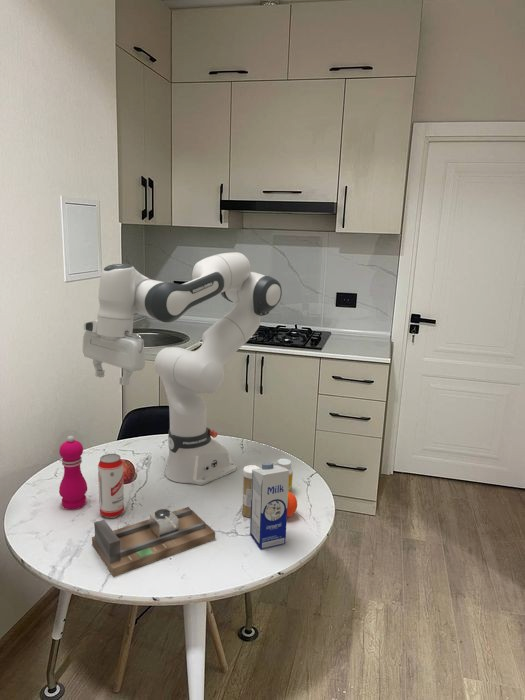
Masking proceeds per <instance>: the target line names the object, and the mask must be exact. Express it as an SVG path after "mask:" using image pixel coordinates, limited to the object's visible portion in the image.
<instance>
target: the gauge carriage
mask: <svg viewBox="0 0 525 700" xmlns="http://www.w3.org/2000/svg"><path fill="white" fill-rule="evenodd" d="M173 512H174V511H172V510H171V509H170V508H169V507H165V508H160V509H158V510H155V511H153V512H150V513H148V514H149V515H148V516H149V517H148V518H149V523H150V529H151V530H152V531H153V532H154V534H155V535H156V536H157V537H158V538H159V537H162V536H165V535H167V534H170V533H173V532H176V531H179V527H178V517H177V516H176V515H175V514H174V513H173Z"/></svg>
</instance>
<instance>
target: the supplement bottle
mask: <svg viewBox="0 0 525 700" xmlns="http://www.w3.org/2000/svg"><path fill="white" fill-rule="evenodd" d="M276 463H277V464H276V466H277V465H278V466H281V467H284V468H287V469H288V470H290V471H289V484H288V491H289V492H291V493H292V491H293V490H292V489H293V474H294V470H293V468H292V467H291V466H292V461H291V460H290V459H288V458H279V459H277V461H276Z"/></svg>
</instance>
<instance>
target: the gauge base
mask: <svg viewBox="0 0 525 700" xmlns="http://www.w3.org/2000/svg"><path fill="white" fill-rule="evenodd" d="M172 512H173V513H174V514H175V515H176V516H177V517H178V527H179V531H176V532H173V533H170V534H167V535H165V536H162V537H159V538H158V537H157V536H156V535H155V534H154V532H153V531H152V530H151V529H150V523H149V519H145V520H142V521H139V522H136V523H132V524H130V525H127V526H124V527H120V528H117V529H112V528H111V526H110V525H109V524H108V522H107V521H106V519H101V520H98V521H94V522H93V523H94V525H93V527H94V535H93V536H91V543H92V544H91V545H92V547H93V548H94V550H95V552H97V554H98V556H99V557H100V558H101V561H102V562H103V564H104V565H105V566H106V568H107V569H108V571H109V572H110V574H111V575H112V577H113V578H114V577H116V576H119V575H121V574H123V573H127V572H130V571H133V570H136V569H138V568H140V567H143V566H146V565H148V564H152V563H154V562H158V561H159V560H162V559H165V558H167V557H171V556H174V555H176V554H179V553H181V552H184V551H187V550H190V549H192V548H195V547H198V546H200V545H203V544H206V543H209V542H211V540H212V541H214V540H216V530H214V529H213V528H212V527H211V526H209V524H208V523H206V521H204V520H203V519H202V518H201V517H200V516H199V515H198V514H197V513H196V512H195V511H194V510H192V509H191V508H190V507H189V506H187V507H183V508H180V509H178V510H173V511H172ZM208 541H209V542H208Z"/></svg>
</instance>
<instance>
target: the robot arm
mask: <svg viewBox="0 0 525 700" xmlns="http://www.w3.org/2000/svg"><path fill="white" fill-rule="evenodd" d="M251 266H252V265H251V263H250V261H249V259H248V257H247V256H246V255H244V254H243V253H241V252H239V251H238V252H235V251H234V252H224V253H223V252H222V253H217V254H213V255H211V256H207V257H205V258H203V259H201V260H199V261H197V262H196V263H195V265H194V266H193V269H192V274H191V276H192V280H190V281H187V282H184V283H181V284H180V283H175V282H168V281H161V280H155V279H151V278H150V277H148V276H145V275H143V274H142V273H140V272H139V271H138V270H137V269H136V268H135V266H134V265H131V264H129V263H128V264H127V263H115V264H114V263H112V264H108V265H106V266H105V267H104V268H103V269H102V272H101V274H100V279H99V287H98V297H97V298H98V302H99V308H98V311H97V317H96V318H97V319H94V320H89V321H88V320H87V321H85V322H83V330H84V333H83V336H82V337H83V338H82V353H83V355H84V358H88V359H92V364H93V367H94V370H95V371H94V372H95V377H97V378H104V376H105V370H104V369H103V365H102V364H103V363H104V364H107V365H112V366H115V367H118V368H121V369H122V373H123V375H122V377H120V378H119V385H121V386H128V385H129V383H130V378H131V376H132V375H133V373H134V372H138V371H143V370H144V368H145V366H146V365H145V364H146V356H145V350H146V349H145V345H144V344H145V343H144V339H143V338H142V336H141V335H140V333H136V332H133V330H134V329H133V327H134V317H135V314H139V315H142V316H145V317H149V318H153V319H155V320H158V321H160V322H161V323H162V322H163V323H173V322H175V321H177V320H179V319H180V318H181V317H182V316H183V315H184V314H185V313H186V312H187V311H188V310H189V309H191V308H192V307H194V306H197V305H199V304H201V303H203V302H205V301H207V300H209V299H212V298H214V297H215V296H217V295H219V294H220V295H221V297H222V298H223V299H225V300H227V301H228V302H231V303H234V305H233V307H232V309H231V310H230V311H229V312H227V313H225V314H224V315H223V316H222V317H221V318H220V319H218V320H217V321H216V322H215V323H213V324H212V325H211V326H209V327H208V328H207V329H206V330H205V331H204V332H203V334H202V337H201V341H202V343H201V346H200V347H199V348H198V349H196V350H193V351H192V350H189V349H185V348H183V347H178V346H169V347H164V348H162V349H161V350H160V351H159V352H158V353H157V354H156V356H155V359H154V369H155V371H156V373H157V375H158V376H159V378H160V379H161V382H162V384H163V387H164V391H165V395H166V397H167V404H168V407H169V429H168V435H167V439H168V441H167V442H168V443H167V444H168V449H169V450H168V456H167V457H168V458H167V464H166V467H165V471H164V475H165V477H166V478H167V479H168V480H171V481H173V482H176V483H181V484H194V485H198V486H202V485H206V484H208V483H210V482H212V481H215V480H217V479H220V478H222V477H224V476H226V475H228V474H231V473H233V472H235V471H237V465H236V463H235V462H234V461H233V460H232V459H231V458H230V457H229V452H228V450H227V449H226V447H224V445H222V444H221V443H220V442H218V441H217V440H215V438H217V437H218V434H219V433H218V432H217V431H216V430H214V429H212V430H211V428H209V427H208V426H207V406H206V405H207V404H206V403H205V401H204V399H203V398H202V396H201V394H213V393H216V392H217V391H219V389H220V388H221V386H222V384H223V383H224V379H225V368H224V367H225V365H226V364H227V362H228V360H229V359H230V358H231V357H233V355H235V353H236V352H237V351H238V350H239V349H241V348H242V347H243V346H244V345H245V344H246V343H247V342H248V341H249V340H250V339H251V337H252V336H254V334H255V333H256V332H257V331H258V329H259V327H260V325H261V320H262V319H261V317H265V316H266V315H268V314H270V311H273V309H275V308H276V306H278V304H279V302H280V301H281V300H282V299H281V298H282V294H283V293H282V291H283V290H282V285H281V283H280V281H278V280H277V279H276V278H274V277H272V276H270V275H264V274H261V273H259V272H255V271H251V270H252V269H251Z"/></svg>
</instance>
